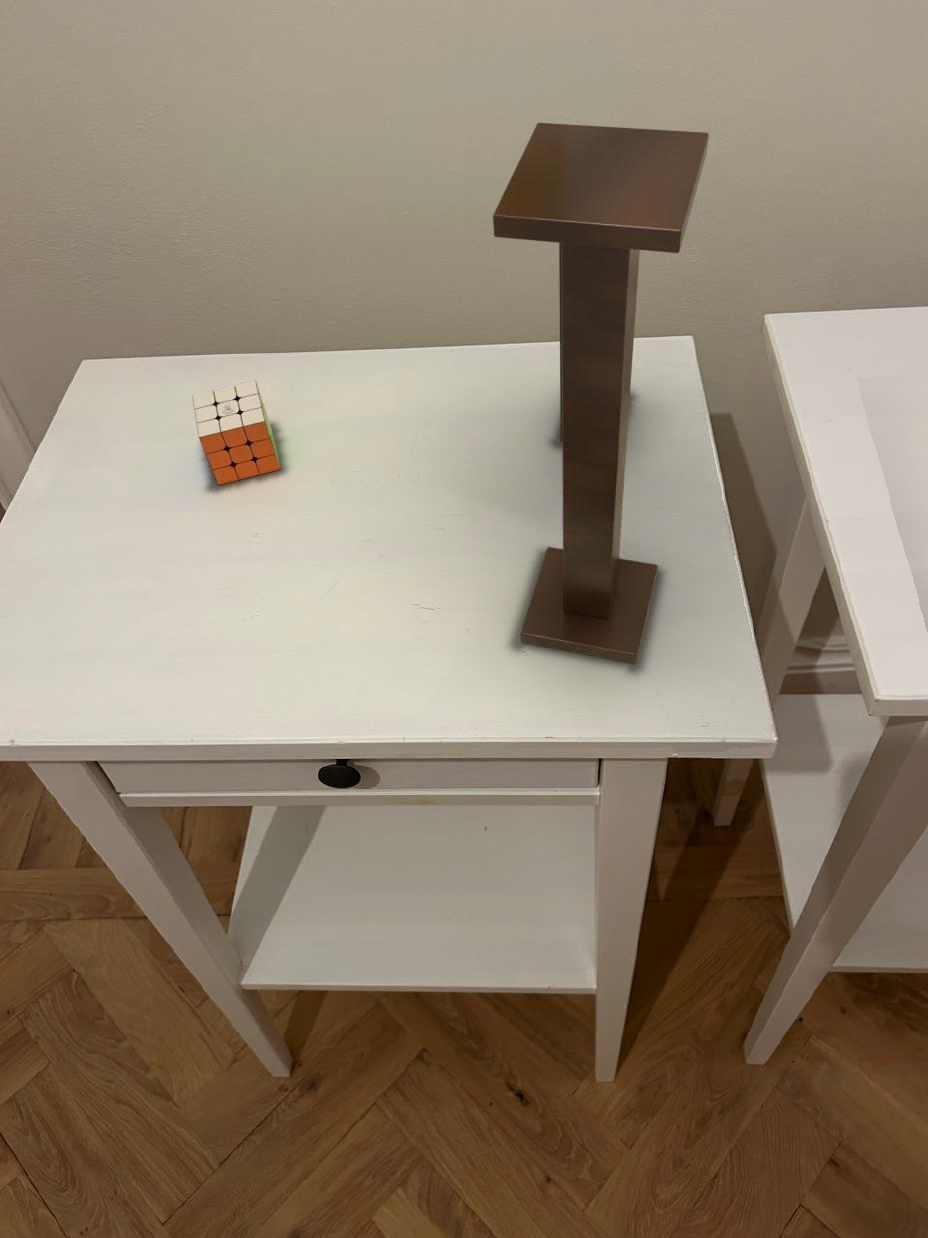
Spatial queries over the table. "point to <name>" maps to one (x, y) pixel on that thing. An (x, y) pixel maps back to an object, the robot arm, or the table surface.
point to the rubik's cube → (235, 432)
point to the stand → (597, 354)
